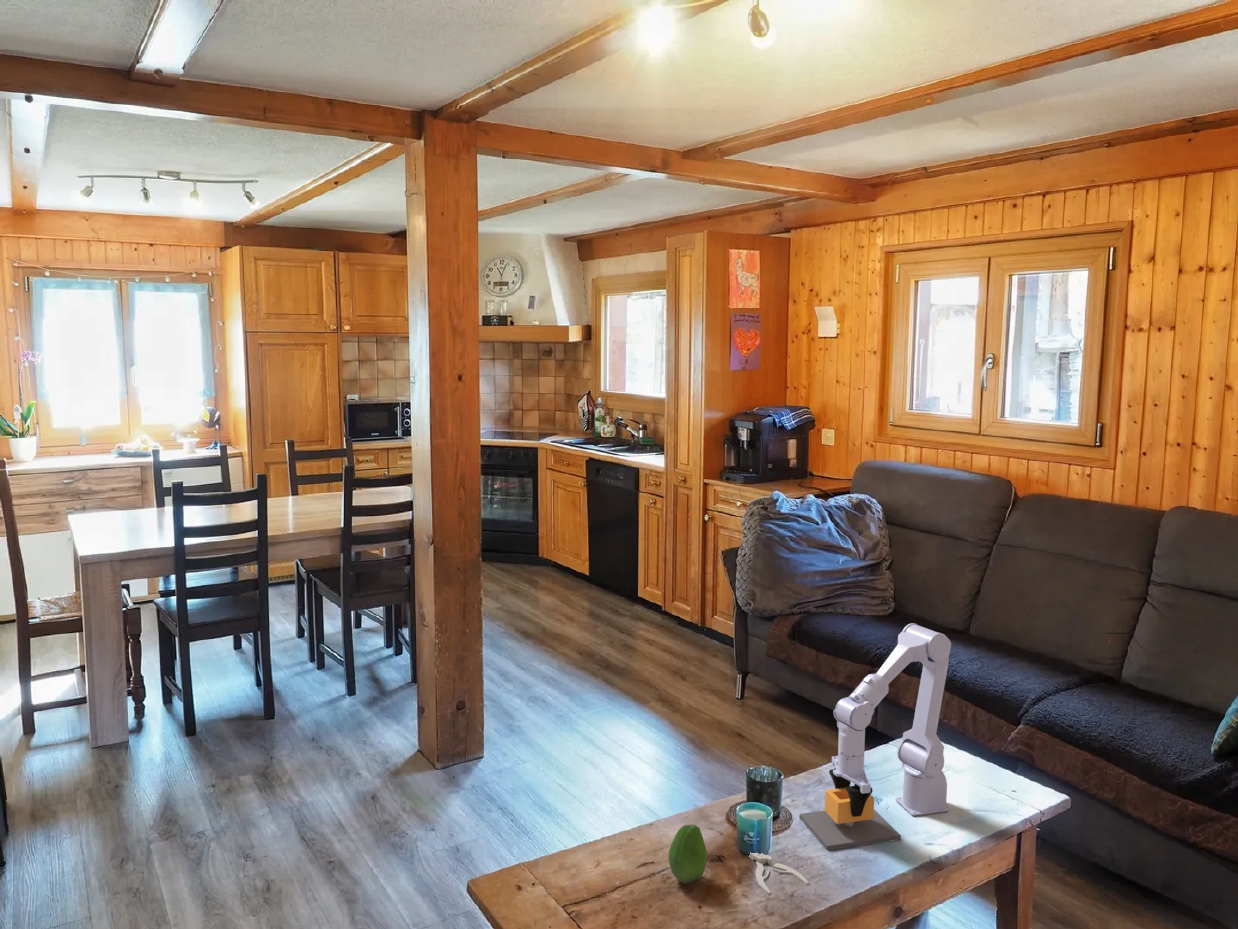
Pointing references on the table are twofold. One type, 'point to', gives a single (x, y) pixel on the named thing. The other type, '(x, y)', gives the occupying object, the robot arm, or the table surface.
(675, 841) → the avocado
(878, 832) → the hook board
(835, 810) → the orange link
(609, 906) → the table surface
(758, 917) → the table surface
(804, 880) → the pliers
